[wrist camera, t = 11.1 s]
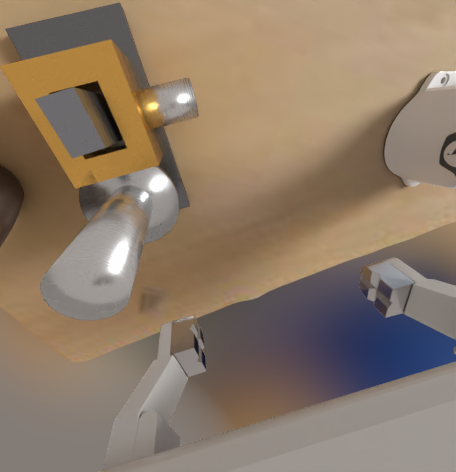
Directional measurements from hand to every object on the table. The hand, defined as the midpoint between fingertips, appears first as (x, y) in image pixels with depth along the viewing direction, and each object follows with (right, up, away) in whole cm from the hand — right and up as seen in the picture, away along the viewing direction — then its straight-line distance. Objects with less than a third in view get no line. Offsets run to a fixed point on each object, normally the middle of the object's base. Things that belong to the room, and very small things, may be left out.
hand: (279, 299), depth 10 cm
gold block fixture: (-15, +17, +20) cm, 31 cm away
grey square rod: (-17, +18, +18) cm, 30 cm away
